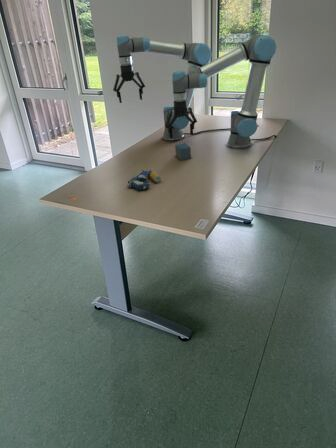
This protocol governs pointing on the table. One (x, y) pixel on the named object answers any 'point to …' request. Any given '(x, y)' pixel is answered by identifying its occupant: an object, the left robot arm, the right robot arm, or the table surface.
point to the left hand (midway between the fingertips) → (130, 101)
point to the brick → (183, 151)
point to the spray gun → (143, 179)
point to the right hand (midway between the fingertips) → (181, 136)
